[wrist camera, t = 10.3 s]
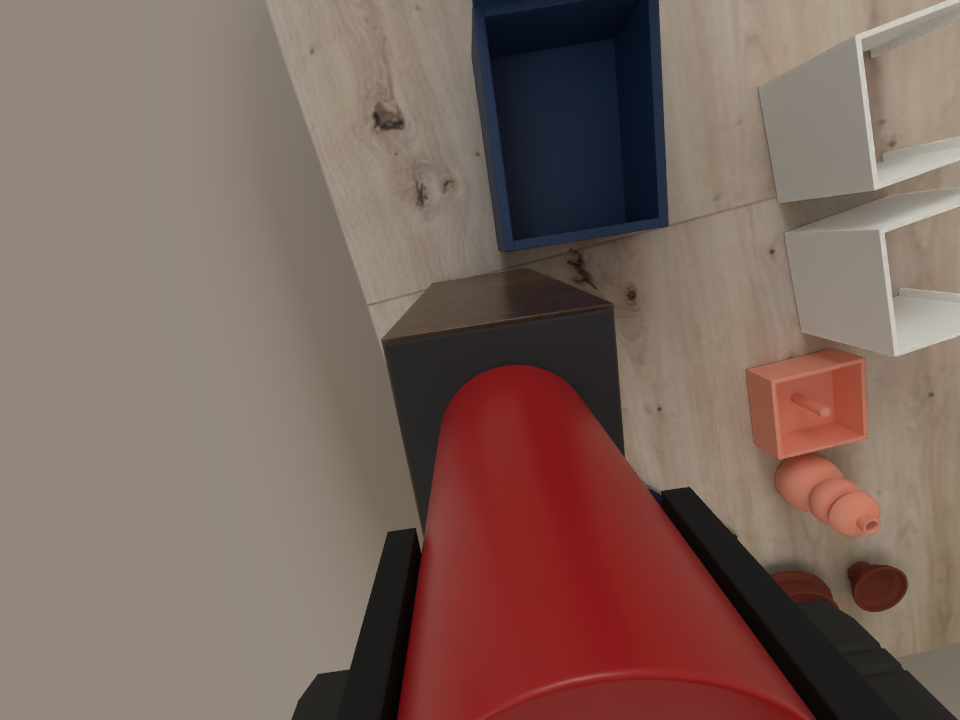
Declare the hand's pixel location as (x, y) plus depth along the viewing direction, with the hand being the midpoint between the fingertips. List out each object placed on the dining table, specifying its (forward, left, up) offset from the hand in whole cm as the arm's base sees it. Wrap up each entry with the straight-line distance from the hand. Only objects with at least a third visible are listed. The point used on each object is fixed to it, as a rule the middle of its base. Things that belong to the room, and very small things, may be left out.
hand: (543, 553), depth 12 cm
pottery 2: (+40, +35, -37) cm, 64 cm away
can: (0, 0, -8) cm, 8 cm away
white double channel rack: (-7, +36, -37) cm, 52 cm away
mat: (0, 0, -8) cm, 8 cm away
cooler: (-16, +9, -36) cm, 41 cm away
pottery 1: (+18, +33, -37) cm, 52 cm away
